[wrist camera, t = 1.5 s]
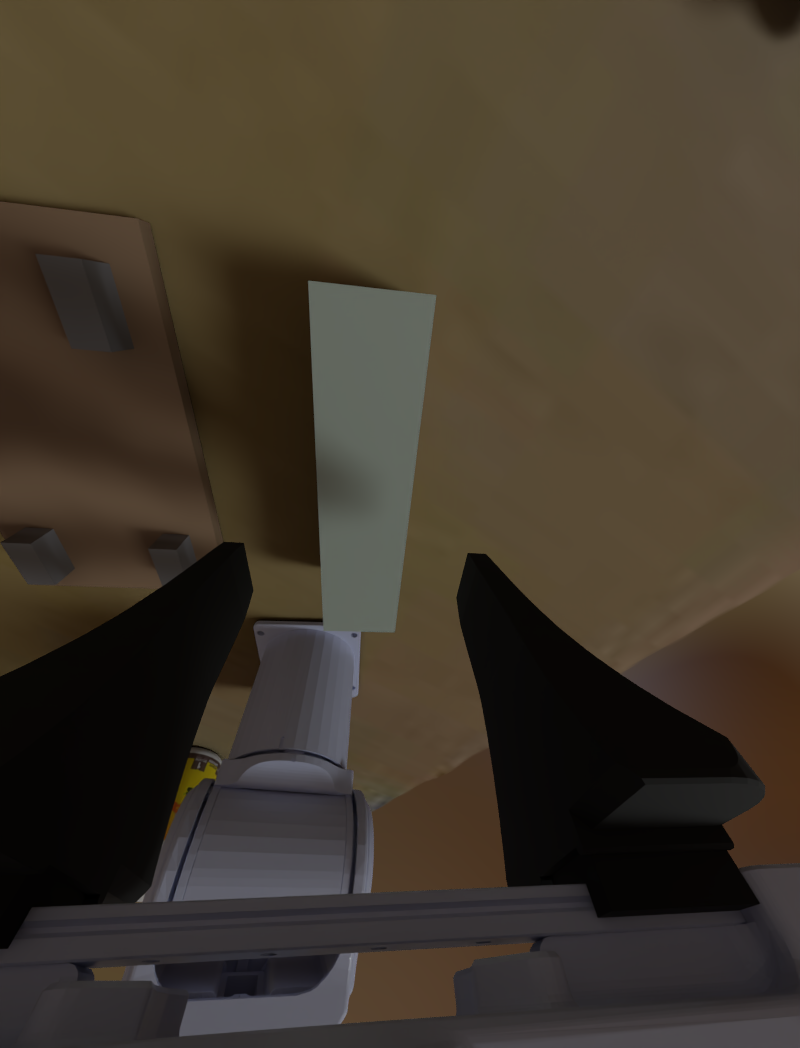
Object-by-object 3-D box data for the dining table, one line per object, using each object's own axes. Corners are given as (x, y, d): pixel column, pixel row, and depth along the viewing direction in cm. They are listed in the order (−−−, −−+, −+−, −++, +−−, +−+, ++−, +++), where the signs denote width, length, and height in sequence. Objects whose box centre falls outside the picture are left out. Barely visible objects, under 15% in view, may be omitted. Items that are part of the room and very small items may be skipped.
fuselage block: (391, 569, 24) (394, 632, 19) (334, 567, 23) (323, 630, 19) (419, 299, 15) (436, 295, 11) (330, 289, 15) (308, 280, 10)
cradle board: (232, 582, 23) (219, 607, 21) (44, 576, 22) (13, 601, 20) (149, 223, 13) (110, 208, 11) (-201, 179, 12) (-310, 155, 10)
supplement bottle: (232, 765, 38) (189, 900, 29) (185, 771, 38) (128, 907, 29) (209, 741, 35) (152, 884, 26) (158, 748, 35) (85, 892, 26)
